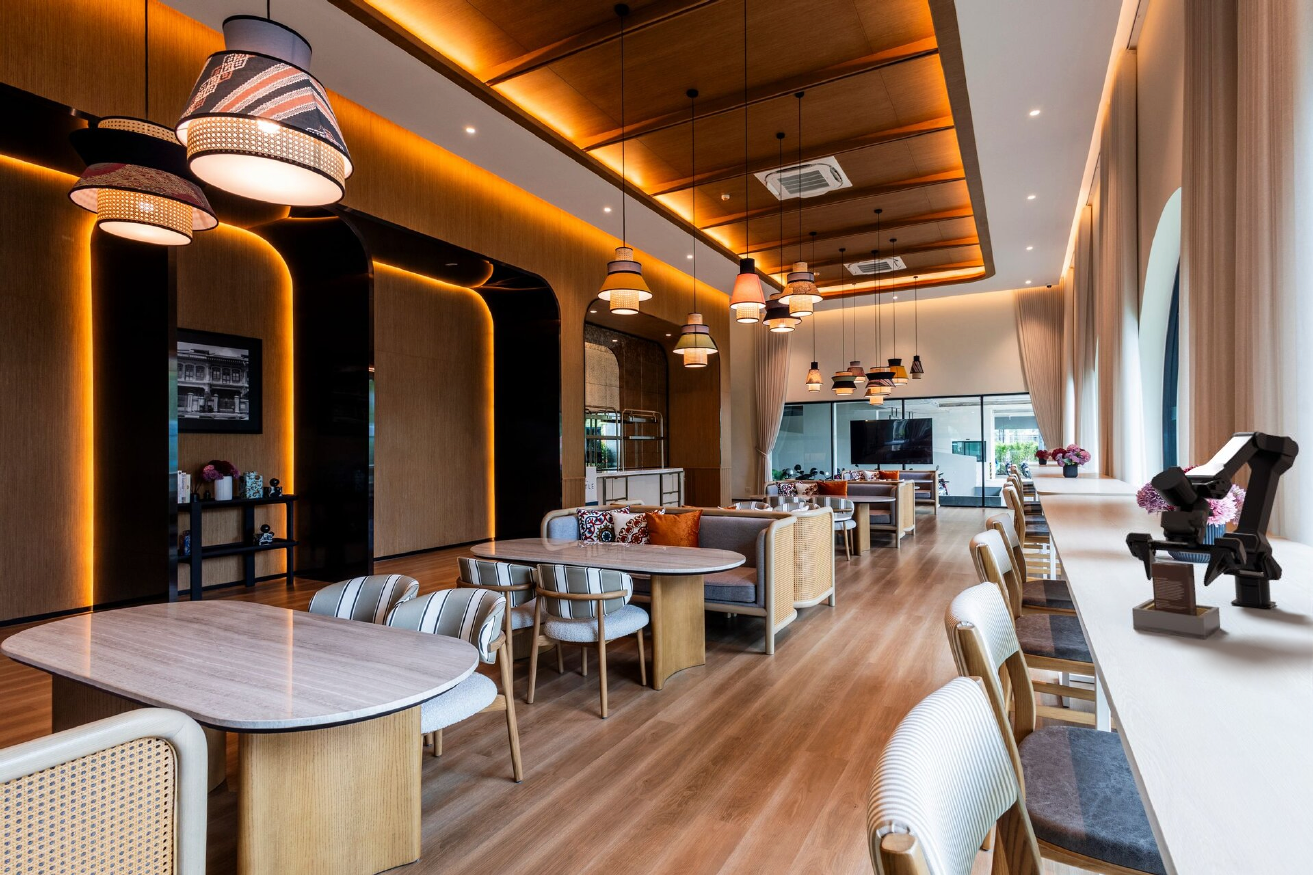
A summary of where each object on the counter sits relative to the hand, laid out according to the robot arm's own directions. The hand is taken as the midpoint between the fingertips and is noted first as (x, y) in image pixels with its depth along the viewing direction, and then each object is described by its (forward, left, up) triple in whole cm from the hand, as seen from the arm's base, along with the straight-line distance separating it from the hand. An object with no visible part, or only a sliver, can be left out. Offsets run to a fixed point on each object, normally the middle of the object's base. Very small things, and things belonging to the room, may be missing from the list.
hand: (1176, 581), depth 132 cm
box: (+1, 0, -8) cm, 8 cm away
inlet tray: (+1, 0, -9) cm, 9 cm away
